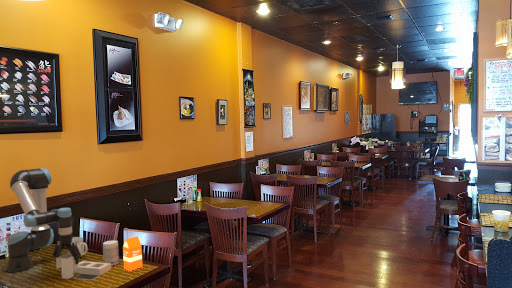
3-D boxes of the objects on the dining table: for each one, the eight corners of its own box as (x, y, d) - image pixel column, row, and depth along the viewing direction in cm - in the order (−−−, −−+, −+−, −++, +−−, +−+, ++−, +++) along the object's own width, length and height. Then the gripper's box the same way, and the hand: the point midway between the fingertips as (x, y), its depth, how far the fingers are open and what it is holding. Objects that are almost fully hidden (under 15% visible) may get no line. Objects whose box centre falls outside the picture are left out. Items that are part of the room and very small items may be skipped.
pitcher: (81, 261, 264) (80, 241, 263) (61, 259, 269) (60, 239, 269) (93, 256, 274) (92, 236, 274) (73, 254, 280) (72, 235, 279)
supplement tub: (120, 264, 254) (119, 242, 253) (105, 267, 249) (104, 245, 248) (117, 260, 262) (116, 239, 261) (102, 263, 257) (101, 241, 256)
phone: (91, 281, 227) (91, 279, 227) (73, 279, 231) (73, 277, 231) (99, 277, 234) (99, 275, 234) (82, 275, 238) (82, 273, 238)
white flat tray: (71, 272, 242) (71, 266, 242) (83, 267, 252) (82, 261, 251) (100, 275, 235) (99, 268, 235) (111, 269, 245) (110, 263, 244)
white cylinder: (61, 278, 233) (60, 255, 232) (67, 275, 237) (66, 253, 237) (67, 278, 231) (66, 255, 231) (73, 276, 236) (72, 253, 235)
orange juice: (123, 269, 245) (122, 238, 244) (136, 265, 251) (134, 235, 250) (130, 271, 239) (128, 240, 239) (142, 267, 246) (141, 236, 245)
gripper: (44, 234, 234) (46, 269, 234) (77, 236, 226) (79, 272, 226) (54, 231, 241) (56, 265, 241) (86, 233, 233) (88, 268, 234)
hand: (67, 268), depth 234 cm, fingers open, 12 cm apart
